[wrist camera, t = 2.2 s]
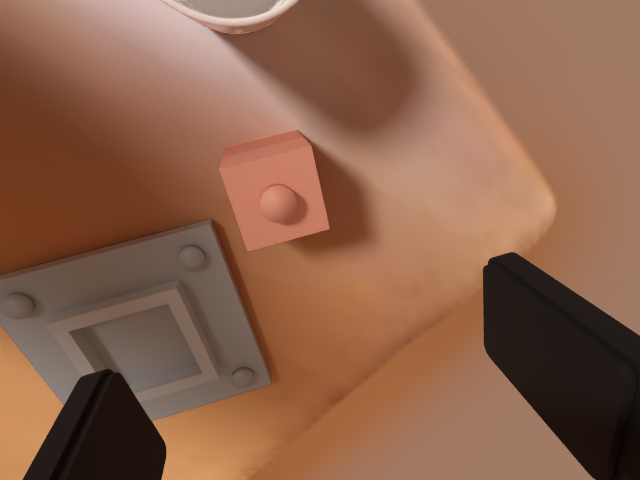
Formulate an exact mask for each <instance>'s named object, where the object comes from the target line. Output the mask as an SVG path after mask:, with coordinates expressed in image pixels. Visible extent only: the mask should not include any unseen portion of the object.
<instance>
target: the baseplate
mask: <svg viewBox="0 0 640 480" xmlns="http://www.w3.org/2000/svg"><path fill="white" fill-rule="evenodd" d="M0 325H1V326H2V327H3V328H4V330H5V331H6V332H7V333H8V335H9V336H10V337H11V339H12V340H13V341H14V342H15V344H16V345H17V346H18V348H19V349H20V350H21V351H22V353H23V354H24V355H25V356H26V358H27V359H28V360H29V362H30V363H31V364H32V365H33V367H34V368H35V369H36V371H37V372H38V373H39V374H40V376H41V377H42V378H43V379H44V381H45V382H46V383H47V385H48V386H49V387H50V388H51V390H52V391H53V392H54V394H55V395H56V396H57V397H58V399H59V400H60V401H61V403H62V404H63V405H65V403H66V401H67V399H68V397H69V396H70V394H71V392H72V390H73V388H74V387H75V385H76V383H77V381H78V380H79V379H80V377H82V376H84V375H87V374H90V373H94V372H97V371H101V370H104V369H111V370H112V371H113V372H114V373H116V372H119V373H120V374H121V375H122V376H123V377H124V379H125V380H126V382H127V384H128V385H129V387H130V388H131V390H132V391H133V393H134V395H135V396H136V398H137V399H138V401H139V402H140V404H141V406H142V407H143V409H144V410H145V412H146V413H147V415H148V417H149V418H150V420H151V421H153V420H157V419H160V418H163V417H167V416H170V415H173V414H176V413H180V412H183V411H186V410H189V409H193V408H196V407H199V406H203V405H206V404H209V403H212V402H216V401H219V400H222V399H226V398H229V397H232V396H235V395H239V394H242V393H245V392H248V391H252V390H255V389H258V388H262V387H265V386H268V385H271V384H272V381H271V374H270V372H269V369H268V367H267V364H266V361H265V359H264V356H263V353H262V351H261V348H260V346H259V343H258V340H257V338H256V335H255V332H254V330H253V327H252V325H251V322H250V319H249V317H248V314H247V311H246V309H245V306H244V304H243V301H242V298H241V296H240V293H239V290H238V288H237V285H236V283H235V280H234V277H233V275H232V272H231V269H230V267H229V264H228V262H227V259H226V256H225V254H224V251H223V248H222V246H221V243H220V241H219V238H218V235H217V233H216V230H215V227H214V225H213V222H212V220H211V219H209V220H205V221H201V222H198V223H194V224H190V225H186V226H183V227H179V228H175V229H171V230H168V231H164V232H160V233H156V234H153V235H149V236H145V237H141V238H138V239H134V240H130V241H127V242H123V243H119V244H115V245H112V246H108V247H104V248H100V249H97V250H93V251H89V252H85V253H82V254H78V255H74V256H70V257H67V258H63V259H59V260H56V261H52V262H48V263H44V264H41V265H37V266H33V267H29V268H26V269H22V270H18V271H14V272H11V273H7V274H3V275H0Z"/></svg>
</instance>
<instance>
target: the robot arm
mask: <svg viewBox="0 0 640 480" xmlns="http://www.w3.org/2000/svg"><path fill="white" fill-rule="evenodd" d="M483 298H484V299H483V300H484V301H483V304H484V346H485V349H486V352H487V354H488V355H489V357H490V358H491V359H492V361H493V362H494V363H495V364H496V365H497V366H498V368H499V369H500V370H501V371H502V372H503V374H504V375H505V376H506V377H507V378H508V379H509V381H510V382H511V383H512V384H513V385H514V386H515V388H516V389H517V390H518V391H519V392H520V393H521V395H522V396H523V397H524V398H525V399H526V400H527V402H528V403H529V404H530V405H531V406H532V408H533V409H534V410H535V411H536V412H537V413H538V415H539V416H540V417H541V418H542V419H543V420H544V422H545V423H546V424H547V425H548V426H549V427H550V429H551V430H552V431H553V432H554V433H555V434H556V436H557V437H558V438H559V439H560V440H561V442H562V443H563V444H564V445H565V446H566V447H567V449H568V450H569V451H570V452H571V453H572V455H573V456H574V457H575V458H576V459H577V460H578V462H579V463H580V464H581V465H582V466H583V467H584V469H585V470H586V471H587V472H588V473H589V474H590V475H591V476H592V477H593V478H594V479H596V480H640V336H639V335H638V334H636V333H635V332H633V331H632V330H630V329H629V328H627V327H626V326H624V325H623V324H621V323H620V322H618V321H617V320H615V319H614V318H612V317H611V316H609V315H608V314H606V313H605V312H603V311H602V310H600V309H599V308H597V307H596V306H594V305H593V304H591V303H590V302H588V301H587V300H585V299H584V298H582V297H581V296H579V295H578V294H576V293H575V292H573V291H572V290H570V289H569V288H567V287H566V286H564V285H563V284H561V283H560V282H558V281H557V280H555V279H554V278H552V277H551V276H550V275H548V274H546V273H545V272H543V271H542V270H541V269H539V268H538V267H536V266H535V265H533V264H531V263H530V262H529V261H527V260H526V259H524V258H523V257H521V256H520V255H518V254H516V253H514V252H510V253H507V254H503V255H500V256H496V257H493V258H491V259H489V261H488V265H486V266H484V268H483ZM165 460H166V445H165V442H164V440H163V439H162V437H161V436H160V434H159V432H158V431H157V429H156V428H155V426H154V424H153V423H152V421H151V420H150V418H149V417H148V415H147V413H146V412H145V410H144V409H143V407H142V406H141V404H140V402H139V401H138V399H137V398H136V396H135V395H134V393H133V391H132V390H131V388H130V387H129V385H128V384H127V382H126V380H125V379H124V377H123V376H122V375H121V374H120V373H119V372H116V373H114V372H113V371H112V370H111V369H104V370H101V371H97V372H94V373H90V374H87V375H84V376H82V377H80V379H79V380H78V381H77V383H76V385H75V387H74V388H73V390H72V392H71V394H70V396H69V397H68V399H67V401H66V403H65V405H64V406H63V408H62V410H61V412H60V414H59V415H58V417H57V419H56V421H55V423H54V424H53V426H52V428H51V430H50V431H49V433H48V435H47V437H46V439H45V440H44V442H43V444H42V446H41V448H40V449H39V451H38V453H37V455H36V457H35V458H34V460H33V462H32V464H31V466H30V467H29V469H28V471H27V473H26V474H25V476H24V478H23V480H161V478H162V474H163V469H164V464H165Z"/></svg>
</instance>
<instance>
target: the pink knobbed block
mask: <svg viewBox="0 0 640 480" xmlns="http://www.w3.org/2000/svg"><path fill="white" fill-rule="evenodd" d="M219 171H220V174H221V176H222V179H223V182H224V185H225V188H226V191H227V194H228V197H229V199H230V202H231V205H232V208H233V211H234V214H235V217H236V220H237V223H238V225H239V228H240V231H241V234H242V237H243V240H244V243H245V246H246V249H247V251H252V250H256V249H259V248H263V247H266V246H270V245H274V244H277V243H281V242H284V241H288V240H292V239H295V238H299V237H303V236H306V235H310V234H313V233H317V232H321V231H324V230H328V229H330V228H329V223H328V218H327V214H326V209H325V205H324V200H323V196H322V191H321V187H320V182H319V178H318V173H317V169H316V164H315V160H314V155H313V151H312V146H311V145H310V144H309V143H308V141H307V140H306V139H305V138H304V137H303V136H302V135H301V134H300V133H299V131H298V130H295V131H291V132H288V133H284V134H280V135H276V136H272V137H268V138H264V139H260V140H256V141H252V142H248V143H244V144H240V145H236V146H232V147H228V148H225V150H224V154H223V157H222V161H221V165H220V168H219Z"/></svg>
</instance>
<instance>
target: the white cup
mask: <svg viewBox="0 0 640 480" xmlns="http://www.w3.org/2000/svg"><path fill="white" fill-rule="evenodd" d="M161 1H163V2H164V3H165V4H167V5H168V6H170V7H171V8H173V9H175V10H177V11H178V12H180V13H182V14H184V15H185V16H187V17H188V18H190V19H192V20H193V21H195V22H197V23H199V24H201V25H203V26H205V27H207V28H210V29H213V30H216V31H219V32H222V33H226V34H246V33H253V32H255V31H257V30H260V29H262V28H264V27H266V26H268V25H270V24H272V23H273V22H275V21H276V20H277V19H279V18H280V17H281V16H282V15H283V14H284V13H286V12H287V11H288V10H289V9H290V8H291V7H292V6H293V5H295V4H296V3H297V2H298V1H299V0H161Z"/></svg>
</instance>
